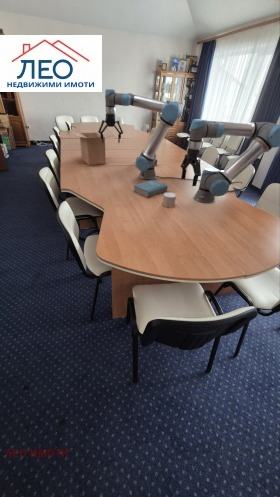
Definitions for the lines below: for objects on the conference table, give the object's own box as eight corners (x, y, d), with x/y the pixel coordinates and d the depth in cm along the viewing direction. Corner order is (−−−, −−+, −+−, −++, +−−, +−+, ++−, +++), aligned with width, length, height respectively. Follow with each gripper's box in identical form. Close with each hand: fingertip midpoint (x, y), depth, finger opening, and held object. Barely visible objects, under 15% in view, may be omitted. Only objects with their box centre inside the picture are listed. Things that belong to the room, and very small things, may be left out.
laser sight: (155, 166, 234) (156, 156, 228) (135, 164, 237) (135, 154, 231) (157, 164, 242) (158, 154, 236) (137, 161, 245) (137, 152, 239)
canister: (167, 201, 165) (169, 191, 161) (176, 205, 161) (178, 195, 156) (160, 204, 160) (161, 194, 156) (169, 208, 156) (170, 198, 151)
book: (152, 185, 190) (153, 179, 187) (167, 191, 181) (167, 185, 178) (133, 191, 176) (133, 185, 173) (147, 198, 167) (148, 191, 164)
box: (116, 165, 229) (116, 136, 213) (83, 168, 214) (80, 137, 198) (102, 154, 259) (101, 128, 243) (71, 156, 244) (68, 129, 228)
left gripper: (94, 113, 168) (96, 143, 180) (126, 114, 173) (126, 143, 186) (94, 112, 174) (95, 141, 186) (125, 113, 179) (124, 141, 192)
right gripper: (178, 144, 143) (174, 176, 156) (200, 153, 125) (194, 189, 137) (188, 143, 145) (183, 175, 158) (211, 153, 127) (204, 188, 140)
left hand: (110, 142), depth 186 cm, fingers open, 13 cm apart
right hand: (188, 182), depth 148 cm, fingers open, 13 cm apart
